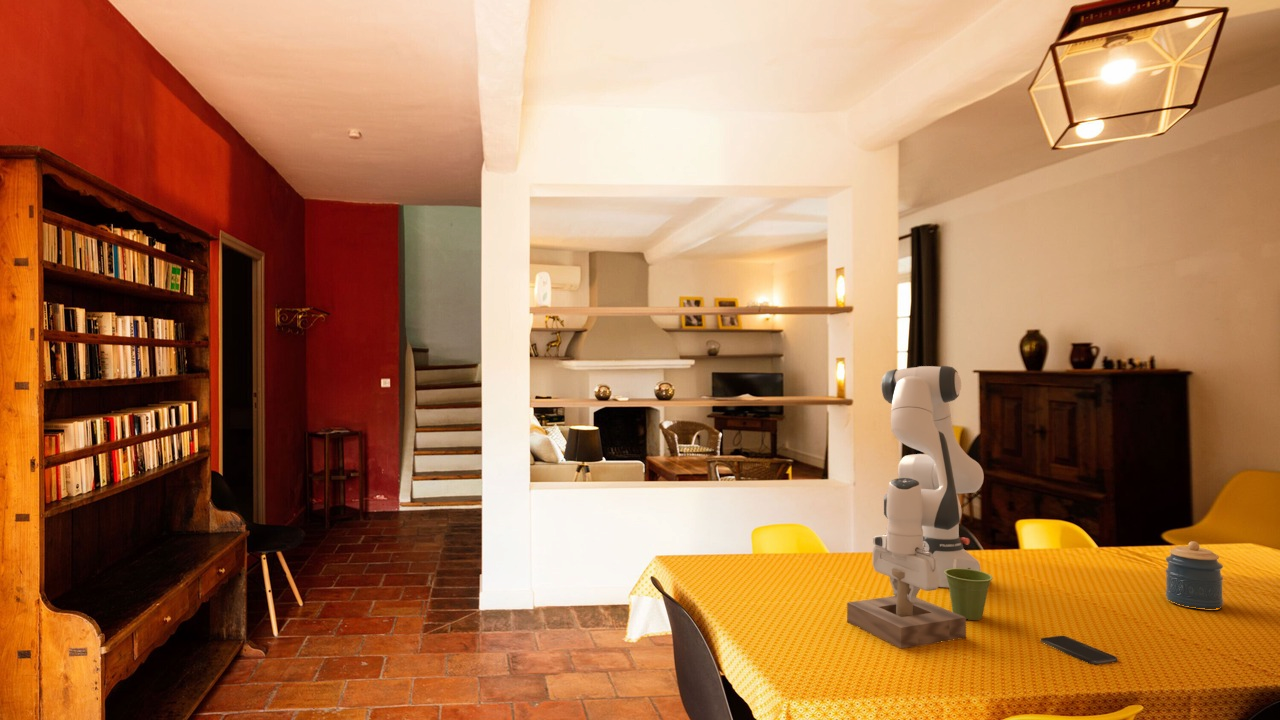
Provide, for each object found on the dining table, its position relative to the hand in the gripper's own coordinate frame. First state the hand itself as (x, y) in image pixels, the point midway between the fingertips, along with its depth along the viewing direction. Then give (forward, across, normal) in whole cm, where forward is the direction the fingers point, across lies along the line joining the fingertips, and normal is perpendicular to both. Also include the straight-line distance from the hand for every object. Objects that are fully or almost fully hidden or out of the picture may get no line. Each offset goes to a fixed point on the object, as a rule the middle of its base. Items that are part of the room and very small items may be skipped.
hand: (904, 598), depth 187 cm
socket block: (+8, 0, 0) cm, 8 cm away
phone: (+8, -26, -28) cm, 39 cm away
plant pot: (+8, +2, -23) cm, 24 cm away
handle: (+8, 0, 0) cm, 8 cm away
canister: (+8, -13, -91) cm, 92 cm away
